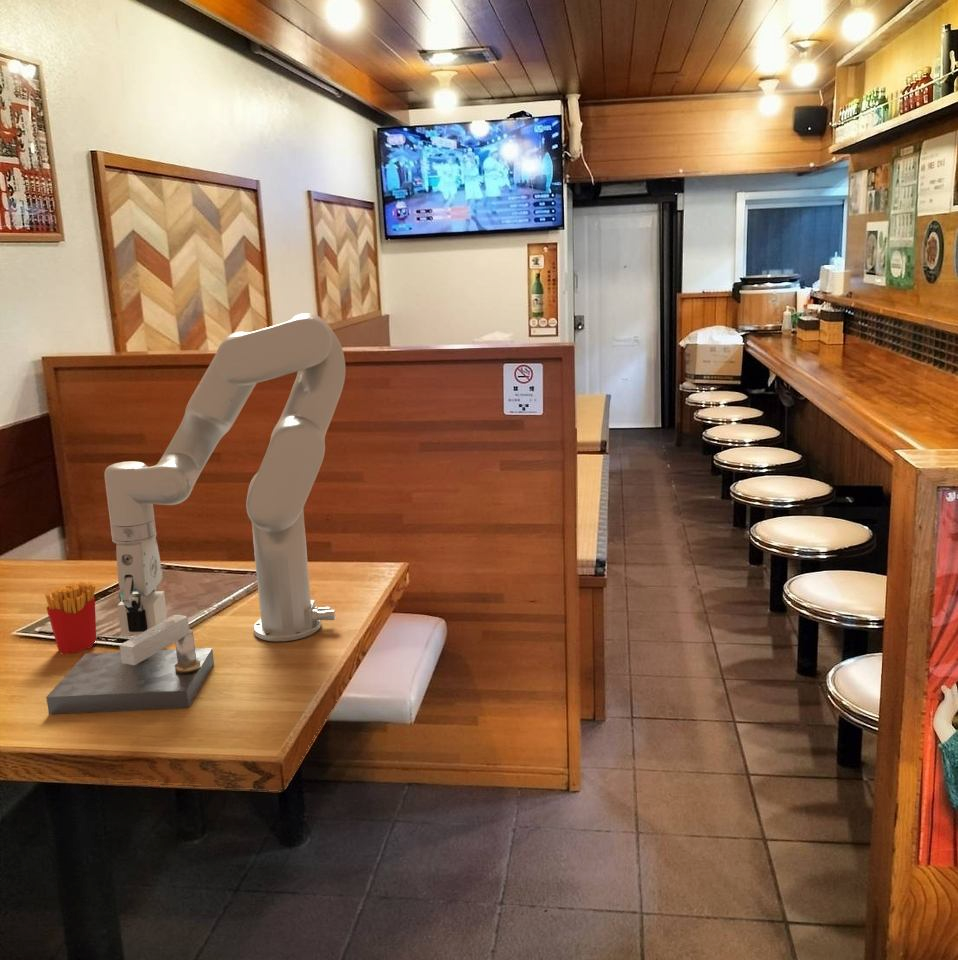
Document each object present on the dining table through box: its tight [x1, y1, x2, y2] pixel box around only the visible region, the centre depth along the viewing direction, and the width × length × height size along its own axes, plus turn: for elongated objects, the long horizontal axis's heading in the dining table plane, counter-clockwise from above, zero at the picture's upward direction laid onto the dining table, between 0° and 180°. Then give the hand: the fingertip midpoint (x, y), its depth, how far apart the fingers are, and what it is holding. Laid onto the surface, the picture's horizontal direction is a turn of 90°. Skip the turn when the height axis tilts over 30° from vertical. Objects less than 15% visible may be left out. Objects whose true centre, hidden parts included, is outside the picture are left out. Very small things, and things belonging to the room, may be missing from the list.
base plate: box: [45, 647, 215, 715], centre depth 152 cm, size 22×16×3 cm
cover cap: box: [117, 590, 168, 637], centre depth 169 cm, size 6×6×6 cm
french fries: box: [44, 581, 97, 654], centre depth 168 cm, size 8×4×12 cm, turn 129°
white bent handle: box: [119, 614, 200, 673], centre depth 146 cm, size 14×4×9 cm, turn 157°
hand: (144, 622), depth 169 cm, fingers closed on cover cap, 6 cm apart
